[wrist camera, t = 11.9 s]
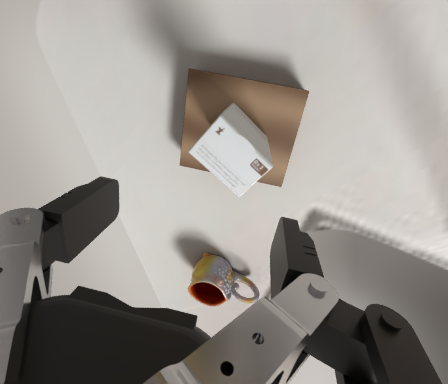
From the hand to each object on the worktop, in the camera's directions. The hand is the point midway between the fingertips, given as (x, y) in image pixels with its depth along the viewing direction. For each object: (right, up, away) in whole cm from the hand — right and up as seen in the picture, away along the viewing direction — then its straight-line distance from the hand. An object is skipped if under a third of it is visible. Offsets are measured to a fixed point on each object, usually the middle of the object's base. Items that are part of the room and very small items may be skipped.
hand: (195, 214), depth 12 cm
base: (+4, +10, +23) cm, 25 cm away
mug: (+2, -13, +34) cm, 36 cm away
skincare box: (+4, +9, +19) cm, 21 cm away
